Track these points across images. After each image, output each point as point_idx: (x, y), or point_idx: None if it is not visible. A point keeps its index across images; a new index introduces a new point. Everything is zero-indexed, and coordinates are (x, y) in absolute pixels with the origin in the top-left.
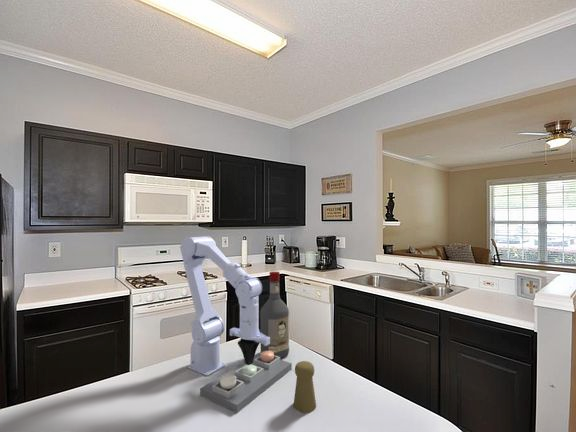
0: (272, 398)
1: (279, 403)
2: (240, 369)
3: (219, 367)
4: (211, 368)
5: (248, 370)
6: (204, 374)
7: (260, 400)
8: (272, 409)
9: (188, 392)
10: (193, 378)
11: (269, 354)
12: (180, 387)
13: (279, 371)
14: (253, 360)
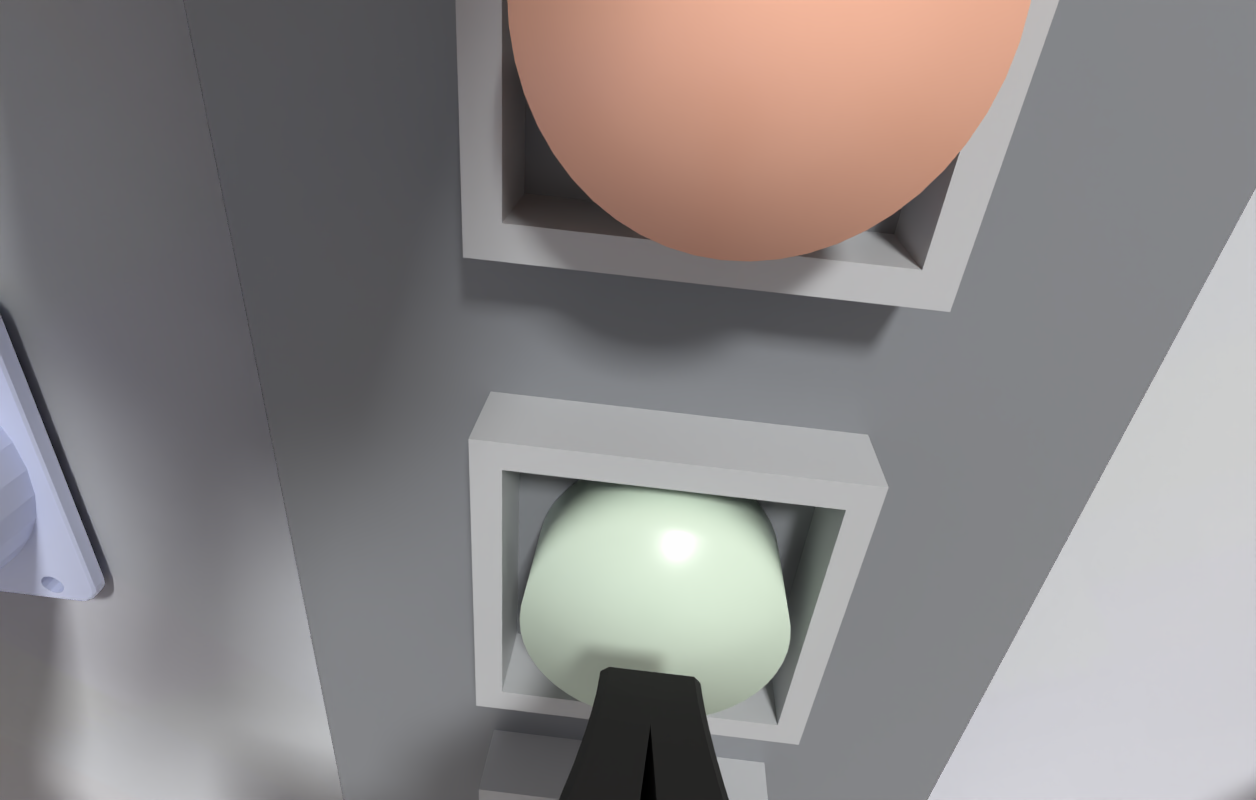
0: (1118, 649)
1: (1227, 686)
2: (501, 637)
3: (16, 418)
4: (8, 547)
5: None
6: (53, 588)
7: (984, 705)
8: (1161, 762)
9: (257, 794)
10: (42, 651)
11: (881, 48)
12: (124, 771)
13: (1191, 262)
14: (353, 67)
